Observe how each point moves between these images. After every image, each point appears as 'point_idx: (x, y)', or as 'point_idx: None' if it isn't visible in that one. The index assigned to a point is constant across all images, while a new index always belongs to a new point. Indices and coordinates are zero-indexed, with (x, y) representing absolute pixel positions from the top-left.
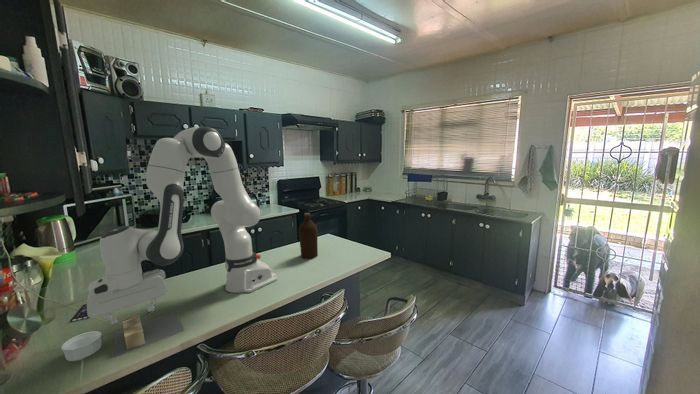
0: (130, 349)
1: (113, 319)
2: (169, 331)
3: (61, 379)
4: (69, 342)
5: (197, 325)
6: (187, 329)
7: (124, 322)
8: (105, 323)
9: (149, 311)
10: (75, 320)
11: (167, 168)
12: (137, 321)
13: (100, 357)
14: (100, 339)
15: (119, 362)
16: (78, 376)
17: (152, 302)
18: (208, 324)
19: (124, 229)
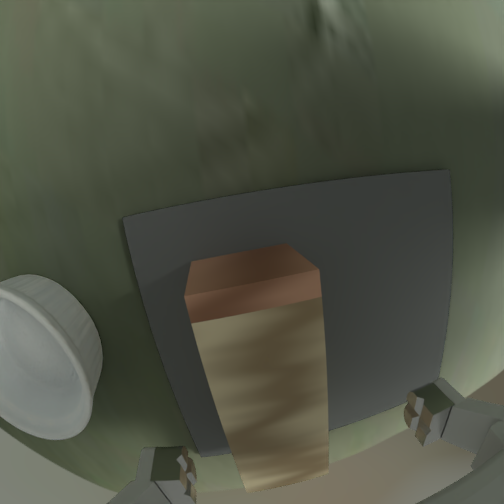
0: None
1: (171, 502)
2: (401, 375)
3: (65, 452)
4: None
5: (470, 357)
6: (444, 372)
7: (211, 349)
8: (70, 45)
9: (413, 422)
10: None
11: None
12: (307, 383)
13: (135, 419)
14: (92, 374)
15: (222, 472)
16: (110, 469)
17: (474, 446)
18: (486, 364)
19: None
